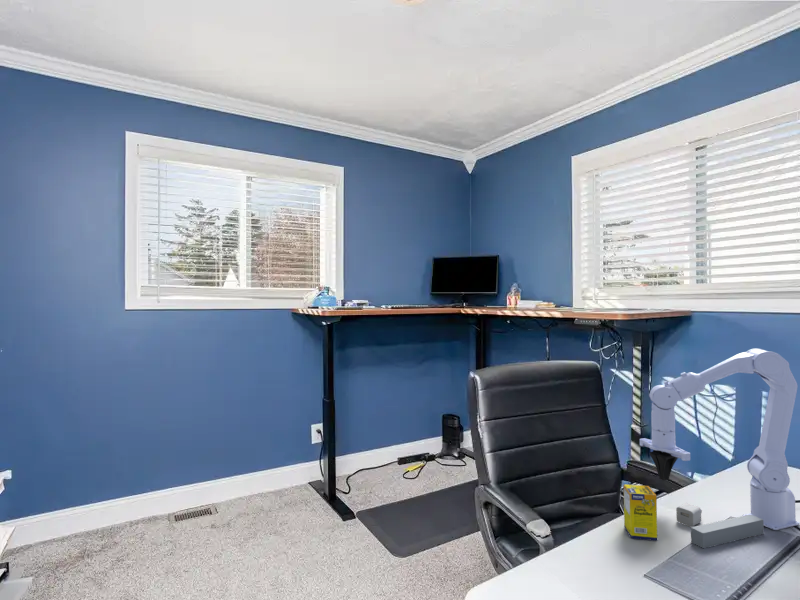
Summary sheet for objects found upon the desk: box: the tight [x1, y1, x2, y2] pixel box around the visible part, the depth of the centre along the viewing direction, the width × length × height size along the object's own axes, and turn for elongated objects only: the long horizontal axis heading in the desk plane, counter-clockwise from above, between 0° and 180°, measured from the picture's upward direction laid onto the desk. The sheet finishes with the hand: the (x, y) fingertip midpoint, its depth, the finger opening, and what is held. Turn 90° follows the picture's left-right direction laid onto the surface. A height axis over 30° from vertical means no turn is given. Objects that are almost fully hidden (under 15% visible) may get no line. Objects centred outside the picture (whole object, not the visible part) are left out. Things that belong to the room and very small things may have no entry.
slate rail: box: [690, 514, 765, 549], centre depth 110 cm, size 20×3×4 cm, turn 109°
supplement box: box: [623, 484, 658, 542], centre depth 112 cm, size 6×6×11 cm
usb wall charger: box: [675, 502, 703, 528], centre depth 119 cm, size 4×7×4 cm, turn 125°
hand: (664, 478), depth 126 cm, fingers closed
